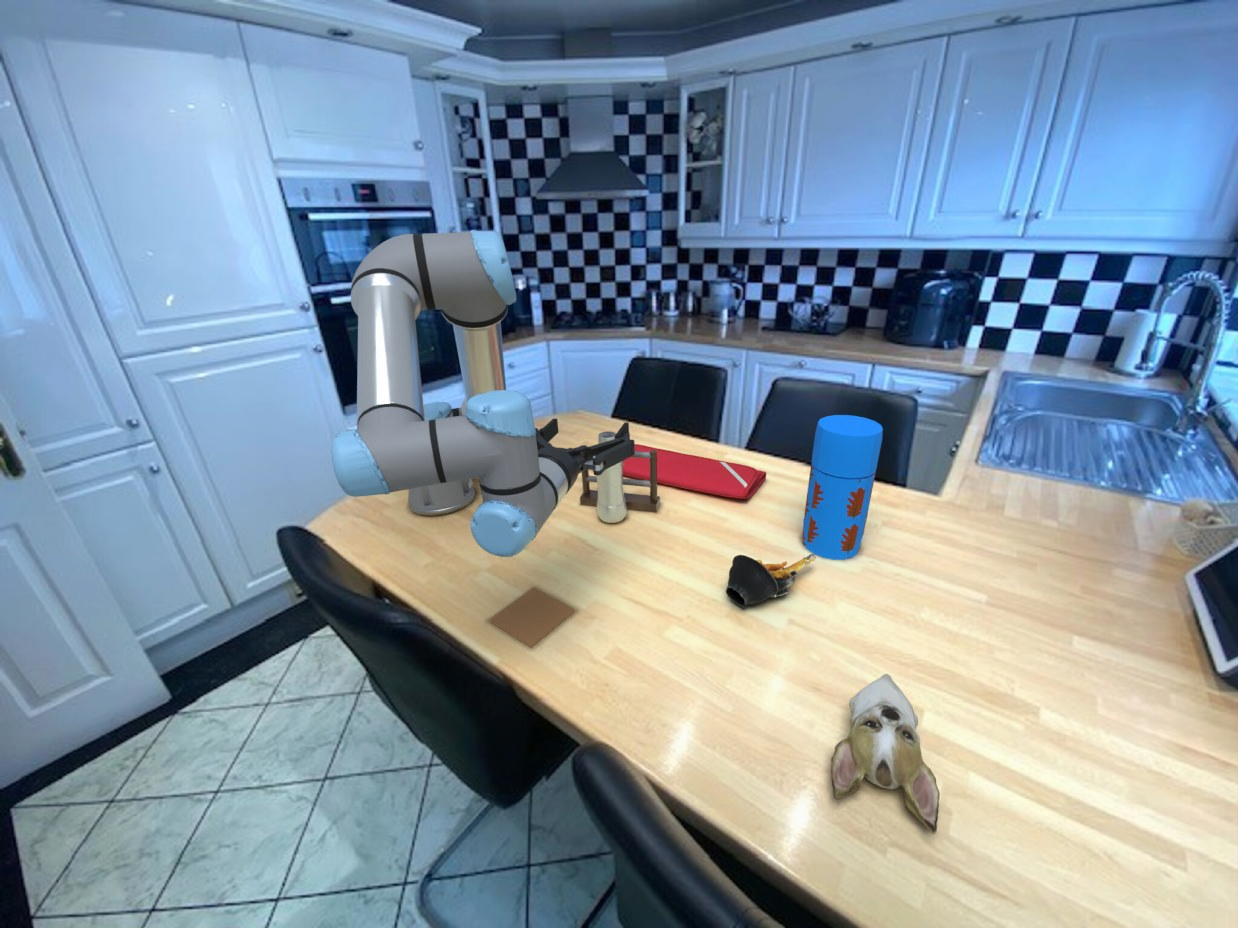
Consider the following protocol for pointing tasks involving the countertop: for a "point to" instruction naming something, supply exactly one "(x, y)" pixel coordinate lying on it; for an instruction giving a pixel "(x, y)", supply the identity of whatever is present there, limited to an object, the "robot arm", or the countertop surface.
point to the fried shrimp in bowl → (760, 579)
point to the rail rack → (632, 500)
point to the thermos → (840, 485)
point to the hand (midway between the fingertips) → (590, 427)
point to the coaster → (532, 616)
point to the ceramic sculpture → (885, 750)
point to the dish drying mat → (697, 473)
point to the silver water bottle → (611, 489)
